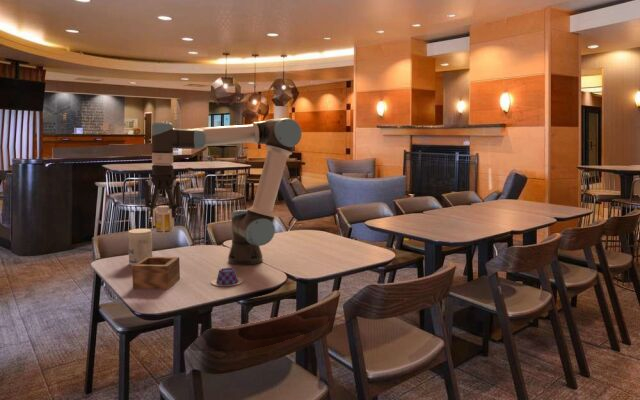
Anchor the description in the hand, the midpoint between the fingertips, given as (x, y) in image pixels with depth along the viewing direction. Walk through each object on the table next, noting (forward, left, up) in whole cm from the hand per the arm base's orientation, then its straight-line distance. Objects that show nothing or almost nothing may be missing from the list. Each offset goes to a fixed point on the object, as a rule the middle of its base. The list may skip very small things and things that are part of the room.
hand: (163, 225), depth 180 cm
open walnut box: (+2, +3, -21) cm, 22 cm away
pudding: (-24, 0, -22) cm, 33 cm away
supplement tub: (+19, -23, -22) cm, 37 cm away
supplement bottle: (0, 0, -3) cm, 3 cm away
